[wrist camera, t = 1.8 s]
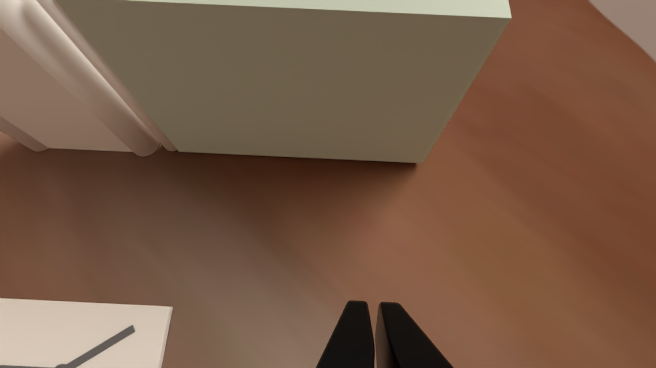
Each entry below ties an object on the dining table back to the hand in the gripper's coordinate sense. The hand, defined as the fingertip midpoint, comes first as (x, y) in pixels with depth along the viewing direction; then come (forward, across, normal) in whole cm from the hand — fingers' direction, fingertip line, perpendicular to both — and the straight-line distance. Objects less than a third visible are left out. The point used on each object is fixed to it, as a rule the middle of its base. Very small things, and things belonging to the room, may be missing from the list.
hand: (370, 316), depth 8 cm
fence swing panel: (+17, +4, +2) cm, 17 cm away
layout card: (+8, +15, +12) cm, 20 cm away
